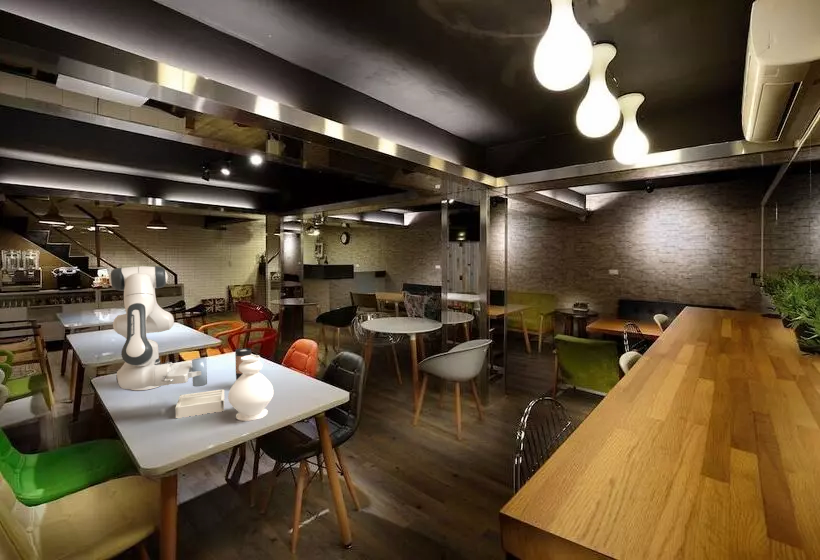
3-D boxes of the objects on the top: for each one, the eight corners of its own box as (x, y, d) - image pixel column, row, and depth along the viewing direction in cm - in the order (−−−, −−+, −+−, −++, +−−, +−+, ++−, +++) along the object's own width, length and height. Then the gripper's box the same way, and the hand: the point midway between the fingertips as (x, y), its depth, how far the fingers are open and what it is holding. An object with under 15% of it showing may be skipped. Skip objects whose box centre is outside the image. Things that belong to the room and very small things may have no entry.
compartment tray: (180, 405, 172) (180, 395, 172) (224, 398, 180) (224, 389, 180) (175, 418, 158) (175, 407, 158) (223, 411, 165) (223, 400, 165)
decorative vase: (228, 426, 150) (226, 365, 149) (229, 410, 167) (228, 354, 165) (275, 419, 157) (274, 360, 156) (272, 404, 174) (271, 350, 172)
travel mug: (246, 390, 191) (245, 351, 190) (232, 389, 193) (231, 351, 191) (255, 385, 198) (254, 348, 197) (242, 384, 200) (241, 347, 199)
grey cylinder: (193, 383, 166) (192, 358, 166) (207, 381, 169) (206, 357, 168) (192, 387, 161) (191, 361, 161) (206, 385, 164) (206, 360, 163)
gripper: (160, 374, 150) (199, 369, 155) (168, 361, 168) (203, 357, 174) (160, 389, 150) (200, 384, 156) (168, 375, 168) (203, 371, 174)
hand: (202, 370), depth 165 cm, fingers closed on grey cylinder, 5 cm apart
